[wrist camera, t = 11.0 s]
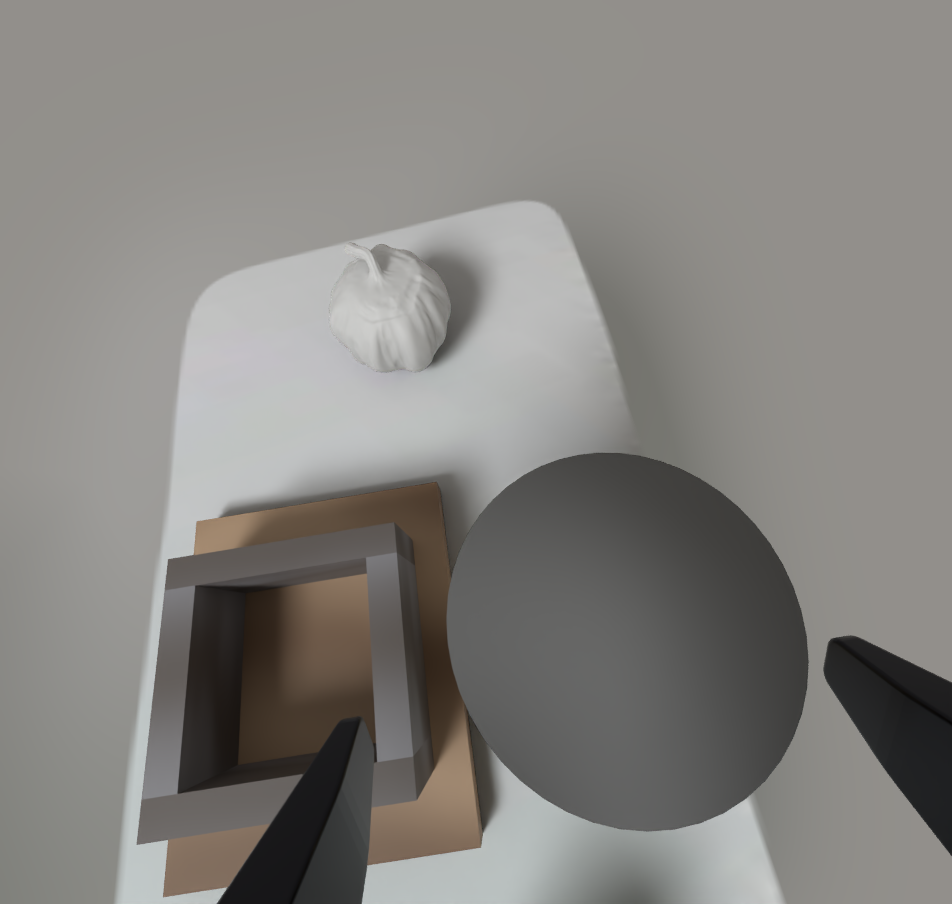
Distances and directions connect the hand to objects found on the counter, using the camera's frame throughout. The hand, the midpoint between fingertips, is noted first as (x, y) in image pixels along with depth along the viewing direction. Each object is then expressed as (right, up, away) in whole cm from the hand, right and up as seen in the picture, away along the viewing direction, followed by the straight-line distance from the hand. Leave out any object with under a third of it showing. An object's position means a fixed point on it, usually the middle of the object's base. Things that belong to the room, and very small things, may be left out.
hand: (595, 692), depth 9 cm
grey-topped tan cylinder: (+1, -2, +8) cm, 9 cm away
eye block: (-8, -3, +9) cm, 12 cm away
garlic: (-6, +10, +14) cm, 18 cm away
